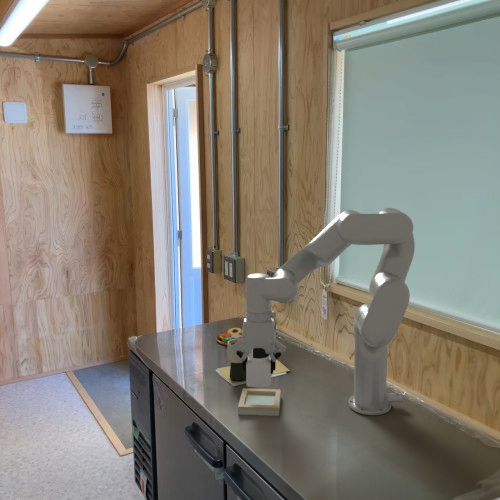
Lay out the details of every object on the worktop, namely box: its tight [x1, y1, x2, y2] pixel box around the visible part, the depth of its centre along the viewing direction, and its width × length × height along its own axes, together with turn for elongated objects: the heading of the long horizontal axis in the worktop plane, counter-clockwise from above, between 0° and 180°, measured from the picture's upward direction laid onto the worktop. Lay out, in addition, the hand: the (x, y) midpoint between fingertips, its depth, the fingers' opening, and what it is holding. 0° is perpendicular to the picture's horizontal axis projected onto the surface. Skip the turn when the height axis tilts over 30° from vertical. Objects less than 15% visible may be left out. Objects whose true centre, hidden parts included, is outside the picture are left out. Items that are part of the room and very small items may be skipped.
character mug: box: [226, 339, 249, 381], centre depth 179 cm, size 11×7×13 cm, turn 25°
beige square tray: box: [237, 387, 282, 417], centre depth 160 cm, size 12×12×2 cm
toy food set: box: [215, 327, 242, 346], centre depth 216 cm, size 13×13×3 cm
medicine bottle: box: [245, 348, 273, 388], centre depth 158 cm, size 7×7×12 cm
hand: (259, 371), depth 158 cm, fingers closed on medicine bottle, 7 cm apart
